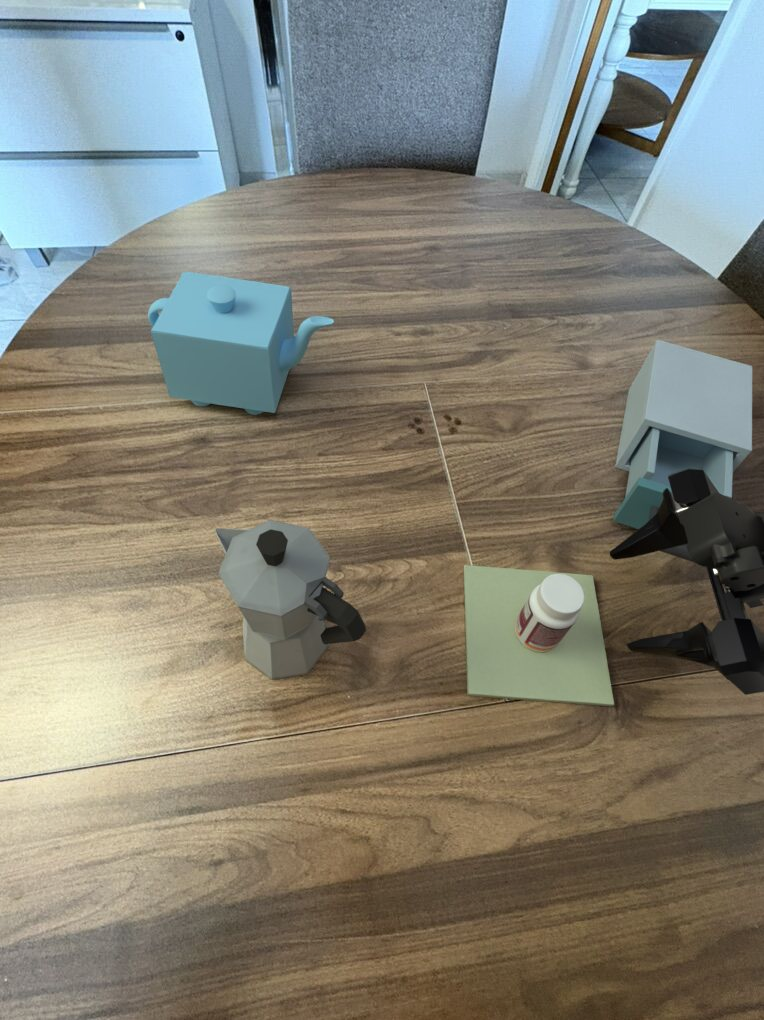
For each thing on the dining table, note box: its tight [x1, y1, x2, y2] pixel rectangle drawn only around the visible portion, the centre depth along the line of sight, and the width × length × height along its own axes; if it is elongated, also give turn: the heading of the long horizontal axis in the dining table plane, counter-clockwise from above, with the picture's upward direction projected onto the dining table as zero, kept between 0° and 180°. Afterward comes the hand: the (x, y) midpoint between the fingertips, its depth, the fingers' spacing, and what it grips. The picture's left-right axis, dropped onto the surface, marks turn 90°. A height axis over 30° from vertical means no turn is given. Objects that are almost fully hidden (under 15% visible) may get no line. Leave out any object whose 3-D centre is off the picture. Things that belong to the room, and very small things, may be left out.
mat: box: [463, 564, 615, 707], centre depth 62 cm, size 14×14×1 cm
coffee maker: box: [214, 519, 367, 681], centre depth 53 cm, size 15×9×18 cm, turn 56°
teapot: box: [147, 270, 335, 416], centre depth 74 cm, size 22×11×14 cm, turn 82°
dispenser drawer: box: [612, 426, 734, 564], centre depth 69 cm, size 19×11×7 cm, turn 160°
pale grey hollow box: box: [614, 339, 753, 473], centre depth 76 cm, size 15×12×9 cm
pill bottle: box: [515, 574, 585, 652], centre depth 59 cm, size 5×5×8 cm
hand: (619, 599), depth 56 cm, fingers open, 9 cm apart
